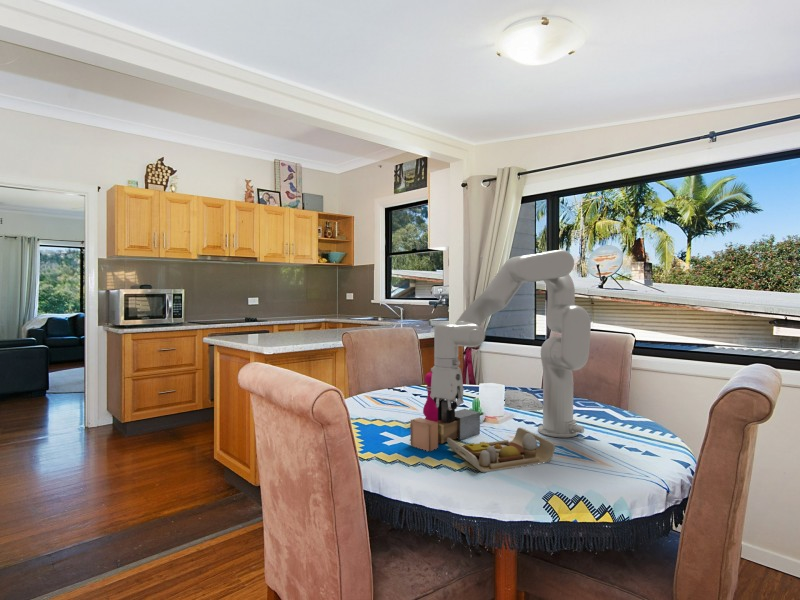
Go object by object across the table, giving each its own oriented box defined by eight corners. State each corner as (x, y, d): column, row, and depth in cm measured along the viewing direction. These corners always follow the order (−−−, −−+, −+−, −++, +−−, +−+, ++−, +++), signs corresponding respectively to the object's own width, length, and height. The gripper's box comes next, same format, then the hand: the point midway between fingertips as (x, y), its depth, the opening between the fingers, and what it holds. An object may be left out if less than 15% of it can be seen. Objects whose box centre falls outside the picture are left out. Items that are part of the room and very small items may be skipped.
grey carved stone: (531, 412, 181) (531, 395, 182) (482, 403, 201) (483, 387, 202) (555, 410, 191) (555, 393, 191) (506, 402, 211) (507, 386, 211)
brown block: (437, 448, 141) (437, 422, 141) (428, 451, 138) (428, 425, 138) (419, 442, 147) (419, 417, 147) (410, 445, 144) (410, 419, 144)
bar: (474, 432, 156) (474, 396, 156) (441, 443, 145) (441, 404, 145) (464, 430, 159) (464, 394, 159) (431, 440, 148) (431, 402, 148)
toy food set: (519, 443, 147) (519, 418, 147) (556, 463, 130) (556, 435, 130) (445, 452, 139) (445, 426, 139) (474, 475, 122) (474, 446, 122)
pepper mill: (442, 427, 163) (442, 369, 162) (421, 426, 164) (421, 368, 164) (444, 421, 170) (444, 366, 170) (424, 420, 171) (424, 365, 171)
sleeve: (479, 433, 156) (479, 412, 156) (460, 440, 149) (460, 418, 149) (464, 429, 161) (464, 408, 160) (445, 435, 154) (445, 414, 154)
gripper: (474, 364, 145) (474, 423, 146) (435, 358, 157) (435, 413, 158) (458, 367, 140) (458, 428, 141) (419, 361, 152) (419, 417, 153)
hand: (446, 420), depth 149 cm, fingers closed on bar, 3 cm apart
